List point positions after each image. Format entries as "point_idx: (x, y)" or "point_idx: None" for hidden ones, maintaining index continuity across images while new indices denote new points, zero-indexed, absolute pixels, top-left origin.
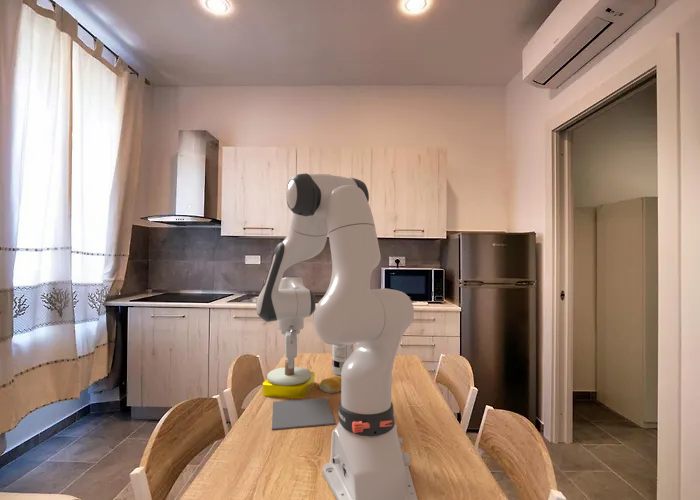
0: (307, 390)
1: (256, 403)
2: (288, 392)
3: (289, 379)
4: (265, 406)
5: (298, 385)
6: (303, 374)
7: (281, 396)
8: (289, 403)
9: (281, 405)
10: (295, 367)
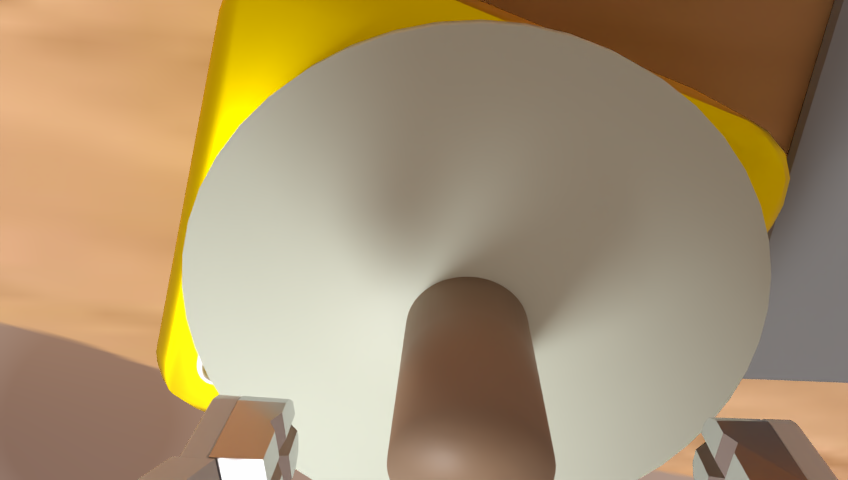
0: (656, 75)
1: (678, 465)
2: None
3: (669, 341)
4: (762, 417)
5: None
6: (538, 158)
7: None
8: (836, 262)
9: (840, 324)
10: (216, 245)
